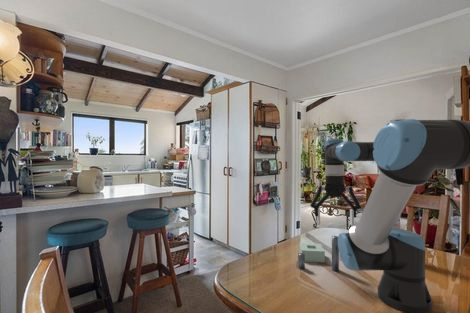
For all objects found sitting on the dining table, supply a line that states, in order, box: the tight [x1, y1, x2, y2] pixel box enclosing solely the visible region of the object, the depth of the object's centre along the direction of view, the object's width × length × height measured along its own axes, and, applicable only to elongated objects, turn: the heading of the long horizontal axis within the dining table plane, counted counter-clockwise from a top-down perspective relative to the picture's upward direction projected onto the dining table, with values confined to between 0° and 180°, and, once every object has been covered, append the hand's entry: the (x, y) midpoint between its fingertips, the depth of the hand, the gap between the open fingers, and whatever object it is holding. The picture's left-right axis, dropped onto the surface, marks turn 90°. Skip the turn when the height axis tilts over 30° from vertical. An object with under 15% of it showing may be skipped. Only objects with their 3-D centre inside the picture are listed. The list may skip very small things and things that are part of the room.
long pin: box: [331, 235, 340, 272], centre depth 106 cm, size 3×3×14 cm
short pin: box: [297, 252, 306, 270], centre depth 108 cm, size 3×3×6 cm
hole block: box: [299, 242, 326, 263], centre depth 119 cm, size 10×10×5 cm
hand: (335, 224), depth 108 cm, fingers open, 13 cm apart
